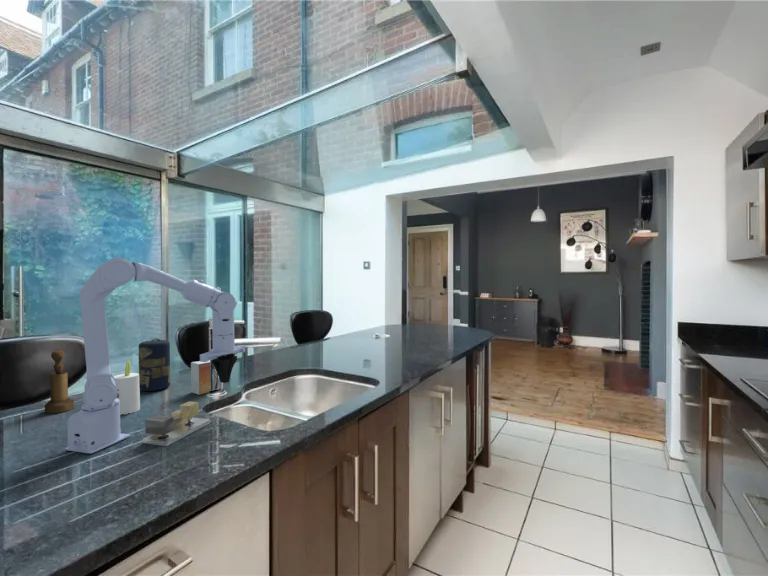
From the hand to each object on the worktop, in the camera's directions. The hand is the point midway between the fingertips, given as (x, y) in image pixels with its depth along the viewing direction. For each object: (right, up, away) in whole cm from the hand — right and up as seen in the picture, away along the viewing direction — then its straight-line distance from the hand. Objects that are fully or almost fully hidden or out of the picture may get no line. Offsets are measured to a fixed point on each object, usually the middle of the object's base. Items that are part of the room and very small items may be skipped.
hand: (224, 382), depth 104 cm
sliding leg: (-7, -8, -8) cm, 13 cm away
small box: (-16, -9, +23) cm, 30 cm away
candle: (-31, -10, +4) cm, 33 cm away
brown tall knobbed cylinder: (-52, -10, +6) cm, 53 cm away
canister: (-36, -10, +27) cm, 46 cm away
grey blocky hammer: (-7, -9, -12) cm, 16 cm away
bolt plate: (-6, -10, -12) cm, 16 cm away
